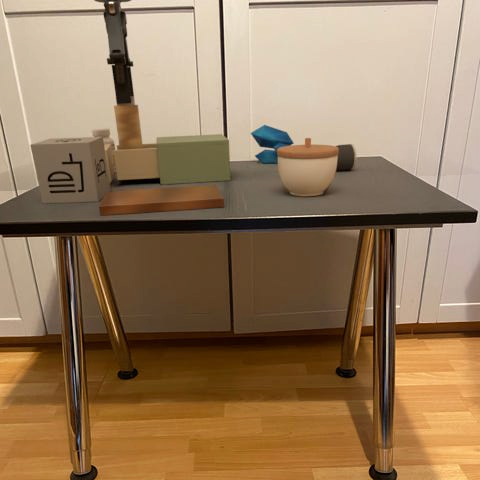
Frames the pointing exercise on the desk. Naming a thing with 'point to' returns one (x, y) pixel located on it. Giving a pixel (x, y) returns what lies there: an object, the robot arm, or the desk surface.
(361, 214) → the desk surface
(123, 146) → the pepper mill
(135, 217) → the desk surface
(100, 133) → the supplement bottle
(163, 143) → the cabinet
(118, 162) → the drawer
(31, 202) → the desk surface
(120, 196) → the cutting board
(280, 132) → the crystal
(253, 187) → the desk surface
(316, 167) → the trinket box
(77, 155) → the icon cube
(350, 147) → the flashlight
